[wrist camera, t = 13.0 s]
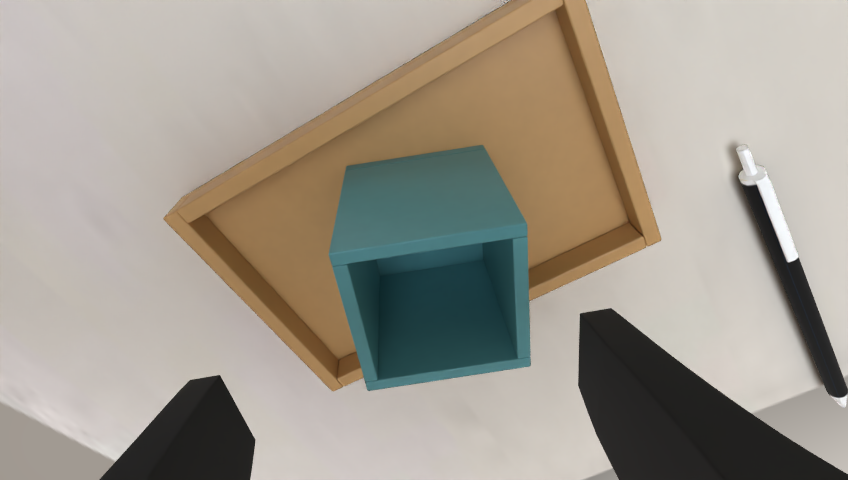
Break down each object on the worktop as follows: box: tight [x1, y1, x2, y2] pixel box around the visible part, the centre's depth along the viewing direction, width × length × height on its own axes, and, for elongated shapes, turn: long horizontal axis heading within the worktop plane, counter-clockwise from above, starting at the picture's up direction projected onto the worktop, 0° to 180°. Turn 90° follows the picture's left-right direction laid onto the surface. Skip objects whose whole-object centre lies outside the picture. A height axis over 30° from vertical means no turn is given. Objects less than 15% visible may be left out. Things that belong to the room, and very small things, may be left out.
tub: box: [328, 145, 531, 391], centre depth 15 cm, size 5×5×6 cm
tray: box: [164, 0, 661, 391], centre depth 18 cm, size 15×10×2 cm
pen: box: [736, 145, 848, 407], centre depth 21 cm, size 1×19×1 cm, turn 37°
